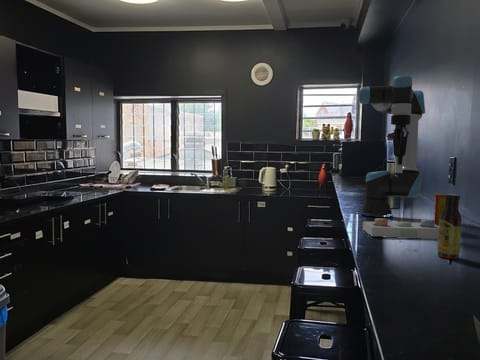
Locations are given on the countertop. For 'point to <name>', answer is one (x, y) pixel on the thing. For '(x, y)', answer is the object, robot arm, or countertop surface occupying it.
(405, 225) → the sage button
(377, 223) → the terracotta button
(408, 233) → the button console
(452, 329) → the countertop surface
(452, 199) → the sauce bottle
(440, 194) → the baking soda box
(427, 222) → the slate button
